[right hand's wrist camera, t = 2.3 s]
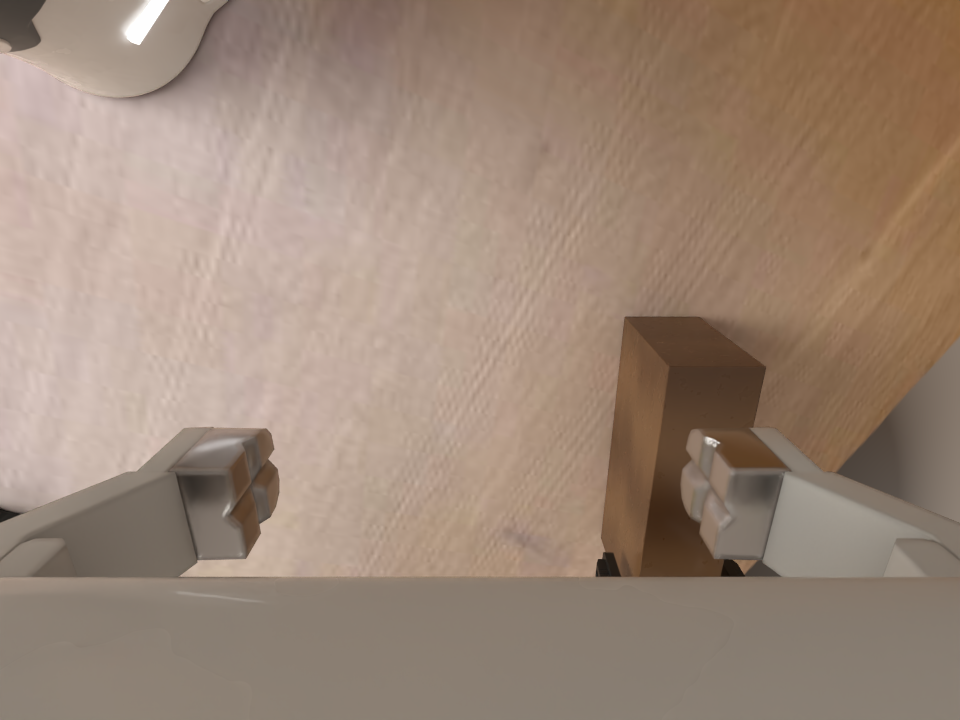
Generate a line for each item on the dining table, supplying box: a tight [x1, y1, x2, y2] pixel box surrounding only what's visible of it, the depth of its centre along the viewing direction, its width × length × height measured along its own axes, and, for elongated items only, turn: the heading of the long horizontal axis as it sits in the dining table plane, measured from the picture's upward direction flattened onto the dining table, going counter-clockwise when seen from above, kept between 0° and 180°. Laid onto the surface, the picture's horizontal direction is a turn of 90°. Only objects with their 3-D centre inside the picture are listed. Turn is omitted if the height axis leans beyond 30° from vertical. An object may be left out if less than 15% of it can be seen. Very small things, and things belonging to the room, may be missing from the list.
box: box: [601, 317, 766, 577], centre depth 40 cm, size 21×6×10 cm, turn 0°
